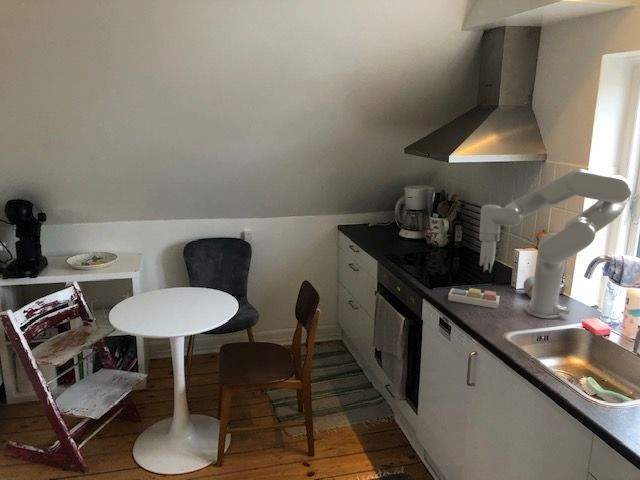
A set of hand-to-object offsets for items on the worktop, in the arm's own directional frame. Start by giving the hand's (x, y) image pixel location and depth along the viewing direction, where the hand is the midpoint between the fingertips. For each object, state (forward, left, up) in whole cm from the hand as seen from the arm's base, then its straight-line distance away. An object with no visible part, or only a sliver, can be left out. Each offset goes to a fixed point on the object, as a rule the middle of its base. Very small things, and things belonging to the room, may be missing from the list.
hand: (486, 280), depth 203 cm
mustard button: (+4, +1, -8) cm, 9 cm away
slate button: (+10, +1, -9) cm, 14 cm away
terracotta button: (-2, 0, -8) cm, 8 cm away
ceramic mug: (-17, -20, -10) cm, 28 cm away
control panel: (+4, +1, -9) cm, 10 cm away
